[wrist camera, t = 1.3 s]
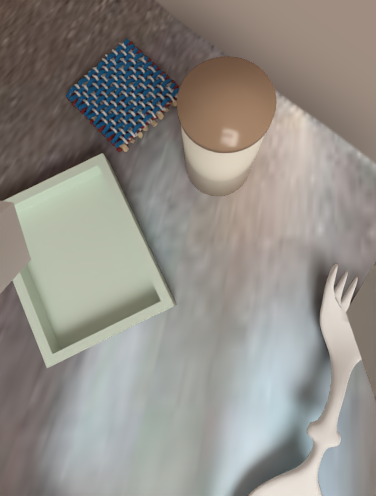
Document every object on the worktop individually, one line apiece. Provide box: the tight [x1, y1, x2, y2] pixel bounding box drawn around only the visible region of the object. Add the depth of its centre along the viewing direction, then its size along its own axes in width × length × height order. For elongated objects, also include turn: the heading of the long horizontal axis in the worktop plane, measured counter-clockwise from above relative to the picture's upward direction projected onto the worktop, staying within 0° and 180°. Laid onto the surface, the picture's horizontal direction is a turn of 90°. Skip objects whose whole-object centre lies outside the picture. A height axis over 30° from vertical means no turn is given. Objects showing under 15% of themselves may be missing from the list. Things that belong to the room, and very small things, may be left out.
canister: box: [177, 56, 276, 196], centre depth 29 cm, size 7×7×12 cm
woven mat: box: [66, 39, 179, 152], centre depth 36 cm, size 10×11×2 cm
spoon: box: [248, 263, 362, 496], centre depth 29 cm, size 9×32×4 cm, turn 157°
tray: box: [3, 153, 176, 368], centre depth 33 cm, size 18×14×2 cm
